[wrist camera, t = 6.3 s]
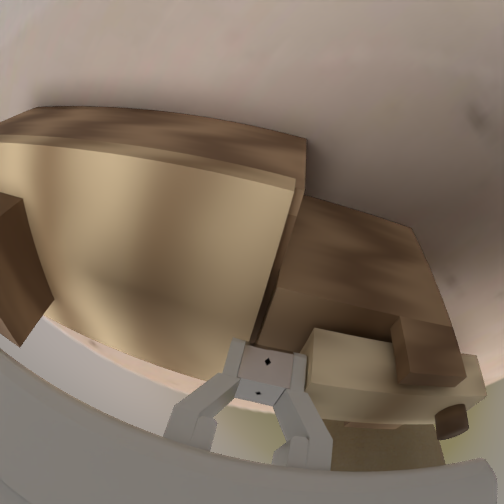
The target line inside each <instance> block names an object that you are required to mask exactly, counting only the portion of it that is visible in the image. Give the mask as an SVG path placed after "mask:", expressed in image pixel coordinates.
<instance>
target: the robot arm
mask: <svg viewBox="0 0 504 504" xmlns="http://www.w3.org/2000/svg"><path fill="white" fill-rule="evenodd" d="M306 364H307V356H306V355H305V354H300V353H295V352H292V351H287V350H282V349H278V348H273V347H267V346H264V345H260V344H256V343H252V342H248V341H245V340H241V339H237V338H234V337H233V339H232V341H231V344H230V348H229V351H228V355H227V358H226V361H225V365H224V368H223V372H222V373H217V374H216V375H215V376H213V377H212V378H211V379H209V380H208V381H207V382H205V383H204V384H203V385H202V386H200V387H199V388H198V389H196V390H195V391H194V392H192V393H191V394H190V395H188V396H187V397H186V398H185V399H183V400H182V401H180V402H179V403H177V404H176V405H175V406H174V408H173V411H172V413H171V416H170V419H169V422H168V424H167V427H166V430H165V433H164V435H163V437H161V436H159V435H156V434H153V433H151V432H148V431H145V430H143V429H140V428H138V427H135V426H133V425H130V424H128V423H126V422H123V421H121V420H119V419H117V418H114V417H112V416H110V415H108V414H106V413H103V412H102V411H100V410H98V409H96V408H94V407H91V406H90V405H88V404H86V403H84V402H82V401H80V400H78V399H76V398H74V397H73V396H71V395H69V394H67V393H66V392H64V391H62V390H60V389H59V388H57V387H55V386H54V385H52V384H50V383H49V382H47V381H46V380H44V379H43V378H41V377H39V376H38V375H36V374H35V373H33V372H32V371H30V370H29V369H27V368H26V367H25V366H23V365H22V364H20V363H19V362H17V361H16V360H15V359H13V358H12V357H11V356H9V355H8V354H7V353H5V352H4V351H3V350H2V349H0V504H497V478H496V475H495V473H494V471H493V469H492V468H491V466H490V465H489V463H488V462H487V461H486V459H484V458H477V459H472V460H468V461H463V462H458V463H452V464H447V465H441V466H434V467H426V468H418V469H408V470H394V471H367V472H354V471H330V469H331V459H332V447H333V439H332V437H331V435H330V433H329V432H328V430H327V428H326V426H325V424H324V422H323V420H322V419H321V417H320V415H319V413H318V411H317V409H316V408H315V406H314V404H313V402H312V400H311V398H310V396H309V395H308V393H306V392H304V387H305V376H306ZM234 398H238V399H243V400H247V401H252V402H256V403H261V404H265V405H269V406H273V409H274V411H275V414H276V416H277V419H278V421H279V424H280V427H281V429H282V432H283V434H284V436H285V439H286V441H287V442H286V443H285V444H284V445H282V446H281V447H280V448H278V449H277V450H276V451H274V455H273V459H272V464H265V463H259V462H254V461H249V460H244V459H239V458H234V457H229V456H225V455H222V454H217V453H214V452H210V449H211V445H212V441H213V438H214V434H215V431H216V426H217V422H216V420H215V419H213V417H214V416H215V415H216V414H217V413H218V412H220V411H221V410H222V409H223V408H224V407H225V406H226V405H227V404H229V403H230V402H231V401H232V400H233V399H234Z"/></svg>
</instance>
